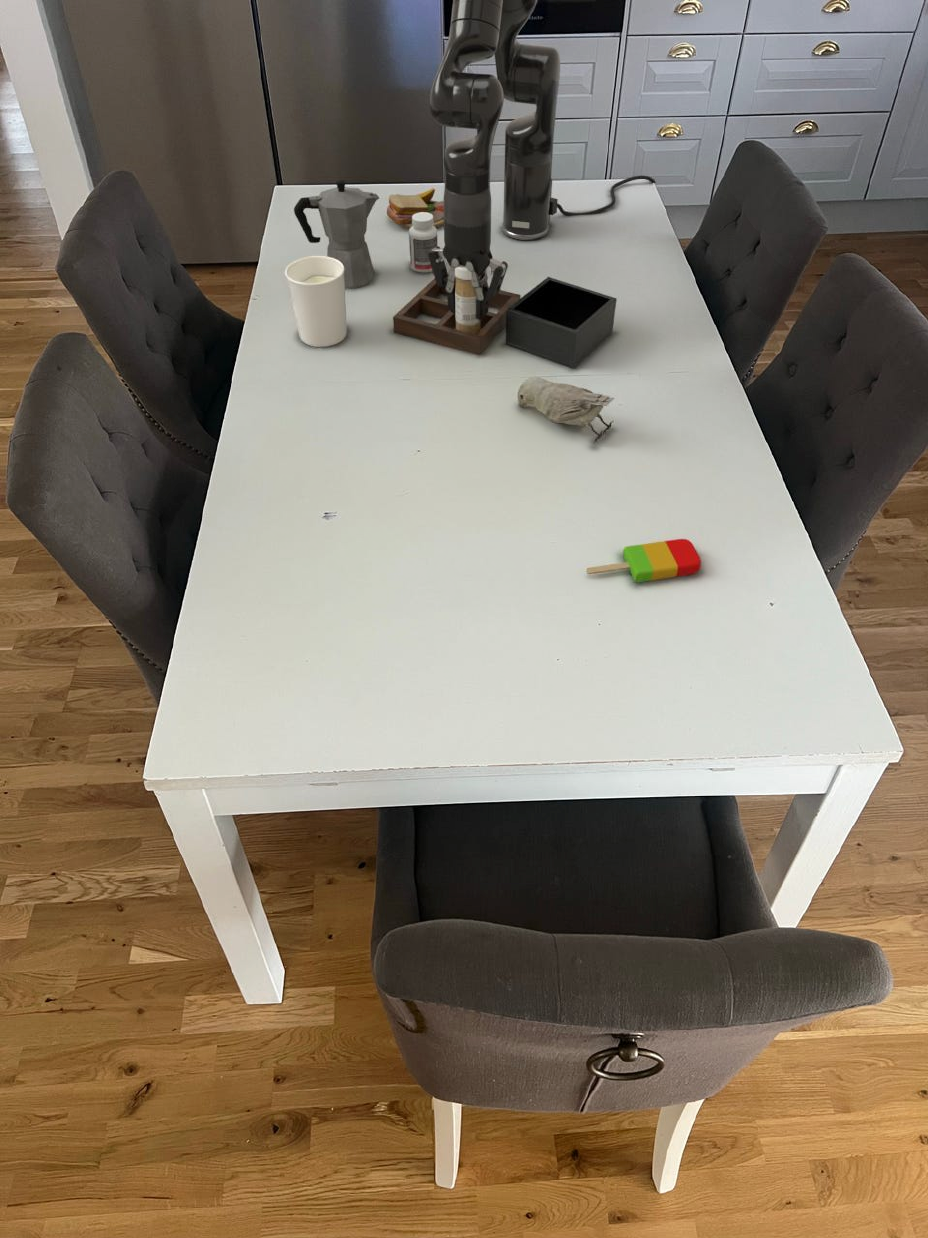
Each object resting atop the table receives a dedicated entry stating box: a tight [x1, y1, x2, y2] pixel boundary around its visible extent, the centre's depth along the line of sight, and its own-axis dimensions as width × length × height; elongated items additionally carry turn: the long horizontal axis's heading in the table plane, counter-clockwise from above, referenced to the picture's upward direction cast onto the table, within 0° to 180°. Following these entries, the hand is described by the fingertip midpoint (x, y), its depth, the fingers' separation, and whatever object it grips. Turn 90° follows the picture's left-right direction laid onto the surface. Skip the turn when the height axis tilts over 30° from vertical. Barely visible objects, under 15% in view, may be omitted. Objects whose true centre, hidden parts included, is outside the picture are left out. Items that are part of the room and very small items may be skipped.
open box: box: [504, 276, 618, 370], centre depth 158 cm, size 14×14×7 cm
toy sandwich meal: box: [386, 187, 444, 230], centre depth 190 cm, size 12×14×5 cm
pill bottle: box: [408, 212, 439, 274], centre depth 174 cm, size 5×5×10 cm
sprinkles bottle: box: [455, 265, 481, 335], centre depth 156 cm, size 5×5×14 cm
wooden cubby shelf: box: [392, 277, 522, 356], centre depth 163 cm, size 17×17×3 cm
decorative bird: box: [517, 376, 615, 444], centre depth 141 cm, size 5×16×7 cm, turn 55°
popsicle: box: [586, 538, 702, 583], centre depth 121 cm, size 6×15×2 cm, turn 101°
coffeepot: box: [293, 179, 380, 289], centre depth 169 cm, size 15×9×18 cm, turn 103°
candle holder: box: [284, 255, 348, 348], centre depth 157 cm, size 10×10×12 cm
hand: (467, 313), depth 158 cm, fingers closed on sprinkles bottle, 4 cm apart
